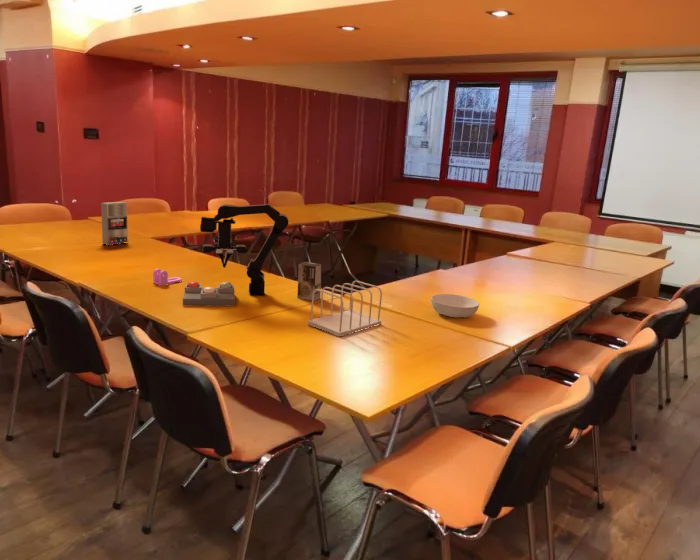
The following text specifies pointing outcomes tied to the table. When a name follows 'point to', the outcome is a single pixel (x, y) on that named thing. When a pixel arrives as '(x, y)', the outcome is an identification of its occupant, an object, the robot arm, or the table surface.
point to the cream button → (209, 290)
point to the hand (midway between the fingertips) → (224, 267)
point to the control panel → (209, 296)
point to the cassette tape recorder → (114, 222)
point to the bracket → (163, 278)
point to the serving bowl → (454, 305)
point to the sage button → (225, 285)
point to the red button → (193, 284)
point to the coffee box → (309, 280)
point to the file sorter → (344, 313)
